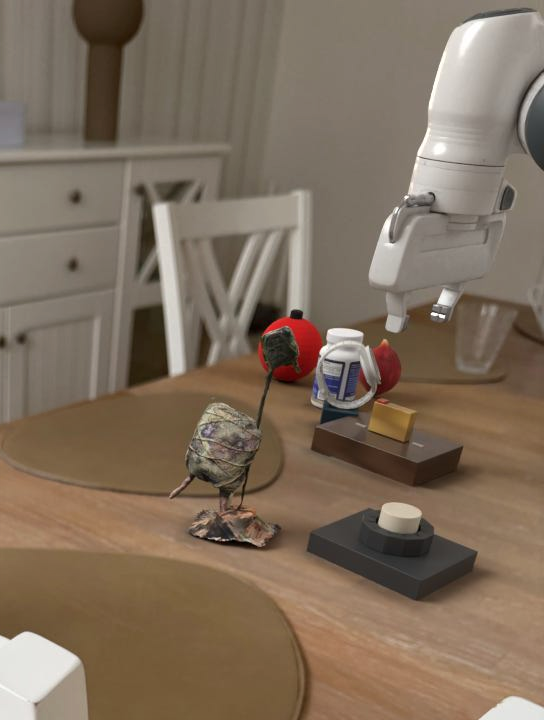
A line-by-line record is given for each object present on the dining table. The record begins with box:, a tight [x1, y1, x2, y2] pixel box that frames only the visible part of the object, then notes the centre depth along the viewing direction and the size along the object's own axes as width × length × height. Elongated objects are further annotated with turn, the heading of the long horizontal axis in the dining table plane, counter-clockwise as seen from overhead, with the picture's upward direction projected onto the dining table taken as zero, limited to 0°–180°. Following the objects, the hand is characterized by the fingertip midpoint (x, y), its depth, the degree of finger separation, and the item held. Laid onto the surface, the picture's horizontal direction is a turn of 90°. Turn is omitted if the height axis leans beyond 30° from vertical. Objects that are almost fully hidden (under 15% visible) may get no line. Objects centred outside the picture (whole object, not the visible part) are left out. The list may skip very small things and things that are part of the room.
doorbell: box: [306, 507, 479, 602], centre depth 92 cm, size 12×10×4 cm
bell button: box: [378, 501, 423, 534], centre depth 91 cm, size 4×4×2 cm
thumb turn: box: [368, 398, 419, 442], centre depth 115 cm, size 5×1×4 cm, turn 42°
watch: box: [315, 340, 381, 425], centre depth 123 cm, size 6×8×11 cm
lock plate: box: [310, 411, 464, 488], centre depth 117 cm, size 14×10×3 cm
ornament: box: [258, 308, 323, 382], centre depth 141 cm, size 9×9×10 cm
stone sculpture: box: [168, 326, 301, 548], centre depth 92 cm, size 8×11×20 cm
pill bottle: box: [310, 327, 365, 410], centre depth 132 cm, size 6×6×10 cm
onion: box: [358, 338, 403, 398], centre depth 137 cm, size 6×6×8 cm
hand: (417, 326), depth 109 cm, fingers open, 8 cm apart
